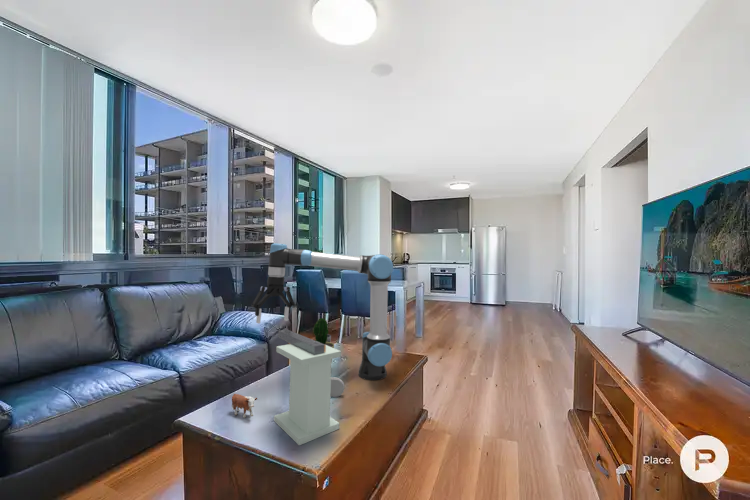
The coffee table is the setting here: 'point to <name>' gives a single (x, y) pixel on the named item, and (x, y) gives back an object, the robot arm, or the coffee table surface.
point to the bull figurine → (242, 403)
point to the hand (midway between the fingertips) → (272, 321)
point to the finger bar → (302, 342)
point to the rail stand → (308, 394)
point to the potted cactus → (322, 332)
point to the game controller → (336, 387)
